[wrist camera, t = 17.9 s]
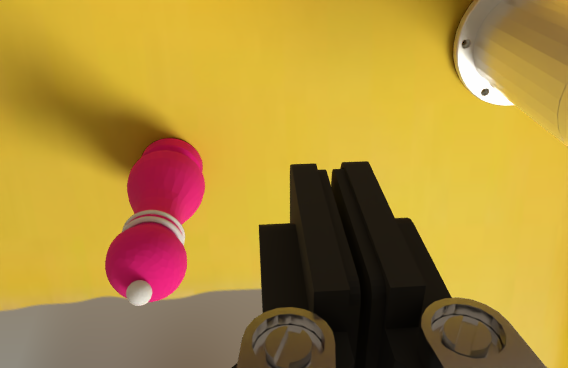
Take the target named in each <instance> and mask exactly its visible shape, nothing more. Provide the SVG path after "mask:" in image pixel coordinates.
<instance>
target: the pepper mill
mask: <svg viewBox="0 0 568 368" xmlns="http://www.w3.org/2000/svg"><path fill="white" fill-rule="evenodd" d="M202 168H203V165H202V160H201V157H200V155H199V153H198V152H197V151H196V150H195V149H194V148H193V147H192V146H191V145H190V144H188V143H187V142H185V141H182V140H179V139H174V138H165V139H161V140H157V141H155V142H153V143H152V144H150V145H149V146H148V147H147V148H146V149H145V151H144V153H143V155H142V157H141V158H140V159H139V160H138V161H137V162H136V163H135V164H134V166H133V167H132V169H131V171H130V174H129V178H128V183H127V192H128V197H129V202H130V204H131V207H132V209H133V211H134V215H132V216H131V217H130V218H129V219H128V220H127V221H126V223H125V225H124V227H123V231H122V233H120V234H119V235H118V236H117V237H116V238H115V239H114V241H113V242H112V243H111V245H110V247H109V249H108V252H107V255H106V261H105V269H106V274H107V277H108V280H109V282H110V284H111V285H112V286H113V288H114V289H115V290H116V291H117V292H118V293H119V294H121V295H122V296H124V297H125V298H127V299H128V301H129V302H130V303H131V304H133V305H136V306H140V305H144V304H146V303H147V302H153V301H158V300H161V299H163V298H165V297H167V296H168V295H170V294H171V293H173V292H174V291H175V290H176V289H177V288H178V286H179V285H180V283H181V282H182V280H183V278H184V276H185V272H186V269H187V255H186V251H185V249H184V241H185V233H184V229H183V227H182V224H183V223H184V222H185V221H187V220H188V219H189V218H190V217H191V216H192V215H193V214H194V213H195V211H196V210H197V209H198V207H199V205H200V204H201V201H202V198H203V195H204V190H205V182H204V177H203V174H202Z"/></svg>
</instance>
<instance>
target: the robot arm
mask: <svg viewBox="0 0 568 368" xmlns="http://www.w3.org/2000/svg"><path fill="white" fill-rule="evenodd" d="M464 40H465V42H464V43H463V44H462V42H463V41H464ZM453 58H454V64H455V69H456V71H457V74H458V76H459V79H460V80H461V82H462V83H463V84H464V86H465V87H466V88H467V89H468V90H469V91H470V92H471V93H472V94H473V95H475V96H476V97H478V98H479V99H481V100H483V101H485V102H488V103H491V104H496V105H502V106H506V105H515V106H516V107H517V108H519V109H520V110H521V111H523V112H524V113H525V114H526V115H528V116H529V117H530V118H531V119H533V120H534V121H535V122H537V123H538V124H539V125H540V126H542V127H543V128H544V129H545V130H547V131H548V132H549V133H550V134H552V135H553V136H554V137H556V138H557V139H558V140H559V141H561V142H562V143H563V144H564V145H566V146H567V147H568V0H474V1H473V2H472V3H471V5H470V6H469V7H468V9H467V11H466V12H465V14H464V16H463V17H462V19H461V22H460V24H459V27H458V29H457V32H456V36H455V41H454V52H453ZM482 89H483V90H482ZM481 90H482V91H481ZM259 240H260V264H261V287H262V308H263V313H262V314H261V315H259V316H258V317H256V318H254V320H253V321H252V322H251V323H250V324H249V325H248V326H247V328H246V330H245V332H244V335H243V337H242V341H241V347H240V352H239V357H238V362H237V364H236V365H234V366H233V367H232V368H547V367H546V366H545V365H544V364H543V363H542V362H541V360H540V359H539V358H538V357H537V355H536V354H535V353H534V352H533V351H532V349H531V348H530V347H529V346H528V345H527V343H526V342H525V341H524V340H523V338H522V337H521V336H520V335H519V334H518V332H517V331H516V330H515V329H514V328H513V326H512V325H511V324H510V323H509V322H508V321H507V320H506V319H505V318H504V317H503V316H502V315H501V314H500V313H499V312H497V311H496V310H494V309H492V308H491V307H489V306H487V305H485V304H483V303H480V302H477V301H474V300H471V299H465V298H452V297H451V295H450V294H449V292H448V290H447V288H446V286H445V284H444V282H443V280H442V278H441V276H440V274H439V272H438V270H437V268H436V266H435V264H434V262H433V260H432V259H431V257H430V255H429V253H428V251H427V249H426V247H425V245H424V243H423V241H422V239H421V237H420V235H419V233H418V231H417V229H416V227H415V226H414V224H413V222H412V221H411V219H409V218H394V216H393V213H392V211H391V209H390V207H389V205H388V203H387V201H386V198H385V196H384V194H383V192H382V190H381V188H380V186H379V183H378V181H377V179H376V177H375V175H374V173H373V170H372V168H371V166H370V164H369V162H367V161H365V162H342V164H341V169H333V171H332V181H331V185H330V181H329V178H328V175H327V171H326V170H318V169H317V165H316V164H293V165H290V223H288V224H267V225H259Z"/></svg>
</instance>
